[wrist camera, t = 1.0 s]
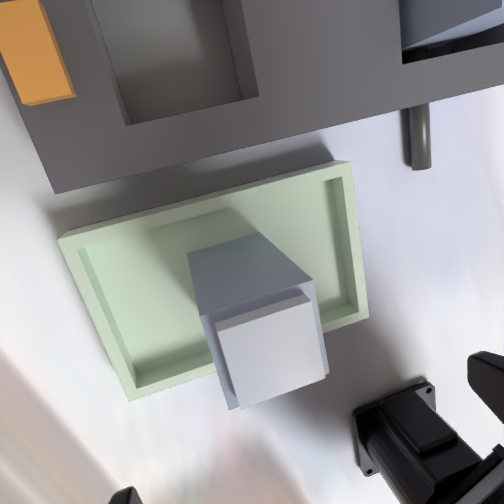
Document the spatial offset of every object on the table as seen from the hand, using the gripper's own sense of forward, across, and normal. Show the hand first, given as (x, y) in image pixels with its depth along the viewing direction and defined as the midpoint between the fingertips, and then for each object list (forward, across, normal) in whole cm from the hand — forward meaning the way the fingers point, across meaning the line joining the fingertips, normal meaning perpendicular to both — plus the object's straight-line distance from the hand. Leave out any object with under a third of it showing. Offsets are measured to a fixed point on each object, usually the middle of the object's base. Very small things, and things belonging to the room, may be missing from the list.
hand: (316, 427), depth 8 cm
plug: (+11, 0, 0) cm, 11 cm away
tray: (+11, 0, 0) cm, 11 cm away
